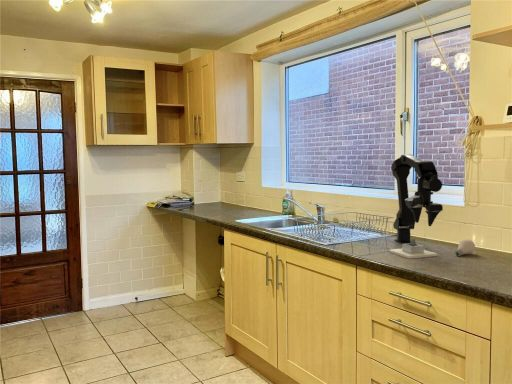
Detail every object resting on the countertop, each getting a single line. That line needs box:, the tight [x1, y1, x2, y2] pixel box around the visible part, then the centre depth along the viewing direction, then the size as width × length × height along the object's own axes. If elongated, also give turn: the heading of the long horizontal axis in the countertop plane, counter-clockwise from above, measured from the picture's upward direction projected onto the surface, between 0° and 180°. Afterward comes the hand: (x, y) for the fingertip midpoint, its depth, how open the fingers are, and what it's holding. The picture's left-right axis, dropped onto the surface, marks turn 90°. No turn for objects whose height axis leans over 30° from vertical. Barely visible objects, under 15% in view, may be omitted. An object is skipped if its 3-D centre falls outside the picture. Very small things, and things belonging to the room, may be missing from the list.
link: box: [401, 242, 425, 254], centre depth 200 cm, size 6×6×3 cm
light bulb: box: [454, 238, 476, 257], centre depth 197 cm, size 7×7×11 cm
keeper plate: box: [388, 238, 438, 259], centre depth 199 cm, size 14×14×6 cm
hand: (423, 224), depth 206 cm, fingers open, 9 cm apart
